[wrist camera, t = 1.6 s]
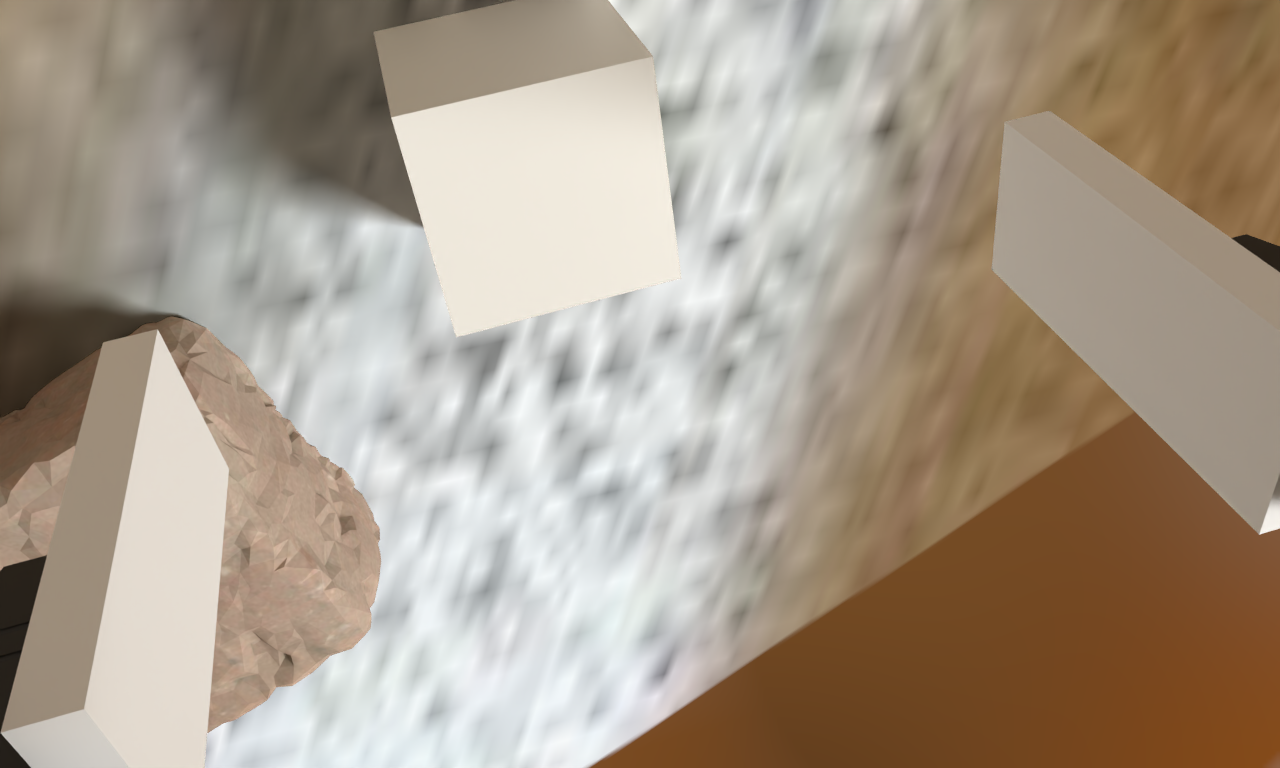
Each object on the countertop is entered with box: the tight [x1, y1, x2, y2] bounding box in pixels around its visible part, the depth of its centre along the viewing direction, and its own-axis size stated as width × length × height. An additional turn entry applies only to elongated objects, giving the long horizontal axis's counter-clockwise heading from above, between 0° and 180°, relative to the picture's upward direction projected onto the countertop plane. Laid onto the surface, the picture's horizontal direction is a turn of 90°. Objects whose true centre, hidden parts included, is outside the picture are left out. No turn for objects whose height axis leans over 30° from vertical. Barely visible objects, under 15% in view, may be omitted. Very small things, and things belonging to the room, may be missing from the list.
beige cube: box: [374, 0, 681, 337], centre depth 21 cm, size 4×4×4 cm
